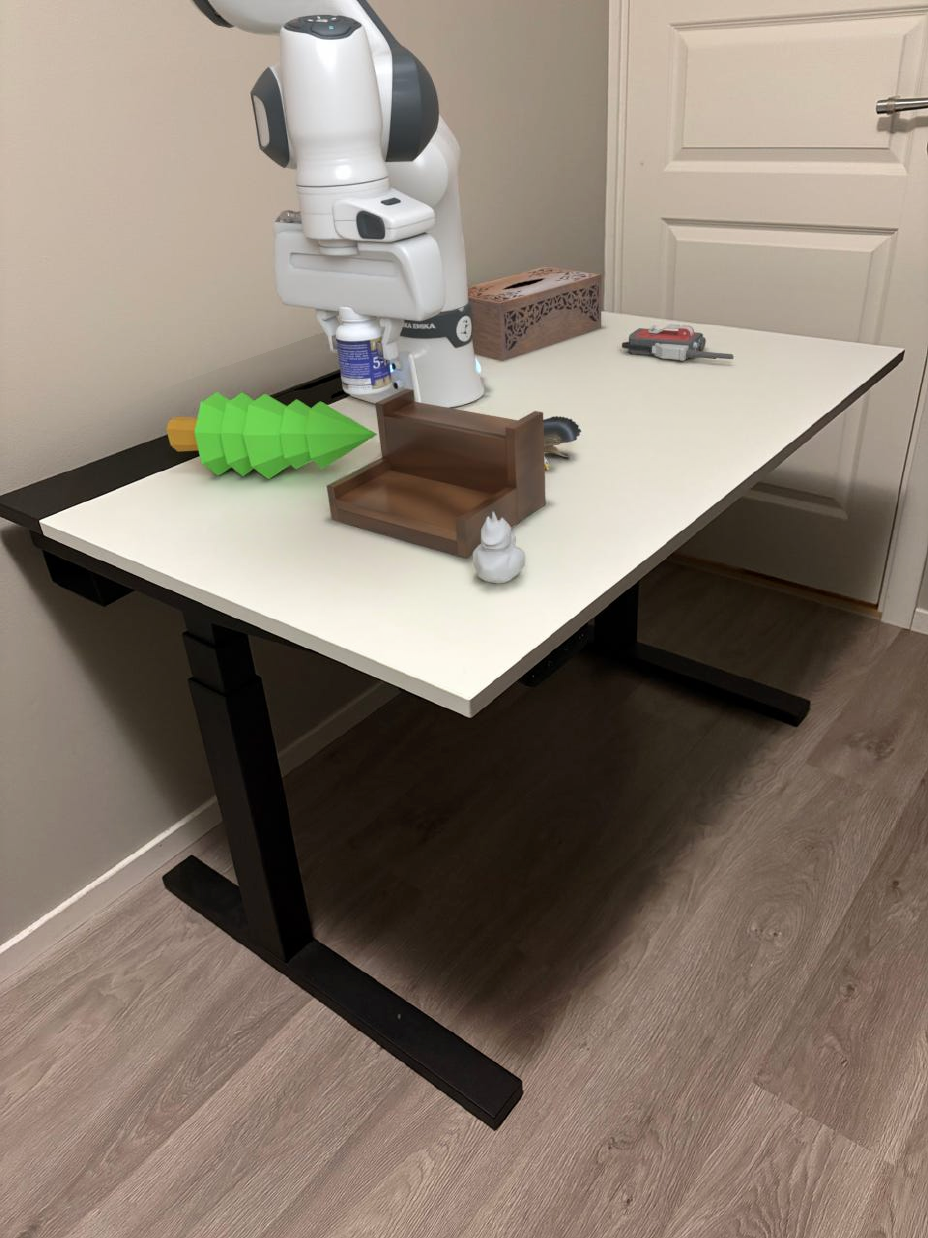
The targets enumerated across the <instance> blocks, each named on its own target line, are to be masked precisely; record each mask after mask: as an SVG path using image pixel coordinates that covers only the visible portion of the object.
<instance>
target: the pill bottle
mask: <svg viewBox="0 0 928 1238" xmlns="http://www.w3.org/2000/svg"><path fill="white" fill-rule="evenodd" d="M338 317H339V320H340V321H342V324H340V326H339V327H338V328H337V330H336V342H337V350H338V352H337V356H338V362H339V371H340V378H341V386H342V390H343V391H344V393H346V394H348V395H350V394H351V395H373V394H378V393H381V392H384V391H386V390H388V389H389V388H390V387H391V385H392V378H391V369H390V361H389V360H383V359H379V358H377V354H376V353H377V350H376V346H375V343H376V342H378V341H382V338H383V334H384V331H385V327H381V325H380V320H378V319H377V318H379V316H371V315H363V314H356V313H354V312H353V310H352V309H351V308H347V307H340V310H339V315H338Z"/></svg>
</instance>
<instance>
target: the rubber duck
mask: <svg viewBox="0 0 928 1238" xmlns="http://www.w3.org/2000/svg"><path fill="white" fill-rule="evenodd" d="M516 544H517V536H516V534H514V533H512V528H511V527H510V525H509V524H508V523H507V522H506V521H505V520H504V519H503V518H501V520H497V517H496V515H495V513H494V512H493V513H492V519H491V518H490V517H489V516H488V517H487V519H486V521H485V523H484V525H483V527H482V529H481V544H480V545H479V546H478V547H477V548H476V549H475V550H474V552H473V555H472V557H471V558H472V559H471V560H472V565H473V568H474V570H475V571H476V573H477V576H478V578H479V579H481V580H483V581H485V582H488V583H491V584H505V583H507V582H511V581H512V580H513V578H515V577H517V576H518V575H519V574H520V573H521V572H522V570H523V568H524V567H525V565H526V554H525V553H526V552H525V551H524V550H523V549H522V548H520V547H517V545H516Z"/></svg>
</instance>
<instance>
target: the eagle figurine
mask: <svg viewBox="0 0 928 1238" xmlns="http://www.w3.org/2000/svg"><path fill="white" fill-rule="evenodd" d="M543 423H544V453H548V454H552V455H558V456H561V457H564V458H567V459H570V458H571V455H570V454H568V453H567V452H564V451H560V449H558V448H557V447H556V446H557V445H558V446H559V445H562V444H568V443H572V442H575V441H577V440H578V437H580V435H581V433H582V430H581V429H580V428H579V427H580V425H579V424H577V423H576V421H574V420H573V419H572V418H568V417H565V416H561V415H559V416H558V415H555V416H551V417H548V418H543ZM544 461H545V471H549V470H550V467H549V465H550V464H549V461H548V460H547V458H546V456H545V455H544Z"/></svg>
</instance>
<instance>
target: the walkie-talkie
mask: <svg viewBox="0 0 928 1238" xmlns="http://www.w3.org/2000/svg"><path fill="white" fill-rule="evenodd" d="M694 329H695V328H694V327H693V326H691V325H684V324H683V325H680V324H672V323H671V324H668V325H666V326H665V327H663V328H657V325H656V324H653V325H652V326H650V327H649V328H643V327H639V328H637V329H635V330H634V331H633V332H631V333H630V334H629V336H628V341H623V342H622V343H621V348H622V349H628V352H629V353H630V354H632V355H640V356H642V355H643V356H651V357H652V356H653V357H657V358H659V359H664V360H673V361H683V362H684V361H685V360H686V359H687V360H688V359H693V358H699V359H708V360H709V359H711V360H717V359H722V360H723V359H724V360H734V355H733V354H732V353H723V352H713V351H703V350H704V349H705V347H706V343H707V340H706V337H704V333H702V332H697V331H695V330H694Z"/></svg>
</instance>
